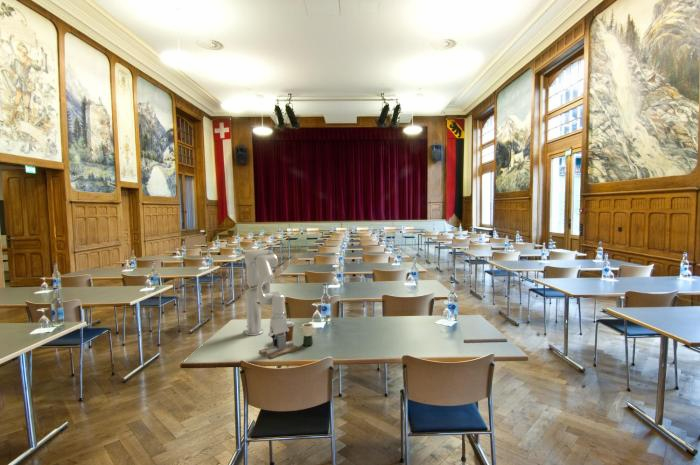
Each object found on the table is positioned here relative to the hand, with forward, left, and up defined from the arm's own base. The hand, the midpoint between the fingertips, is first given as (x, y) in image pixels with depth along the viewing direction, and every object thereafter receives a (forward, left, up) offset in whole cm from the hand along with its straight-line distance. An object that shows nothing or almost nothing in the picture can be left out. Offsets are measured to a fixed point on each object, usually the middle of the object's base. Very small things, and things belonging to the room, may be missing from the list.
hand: (279, 343), depth 223 cm
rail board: (0, 0, -4) cm, 4 cm away
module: (0, 0, -2) cm, 2 cm away
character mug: (+5, +18, -5) cm, 19 cm away
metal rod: (+84, +99, -5) cm, 130 cm away
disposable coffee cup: (-12, +14, -5) cm, 19 cm away
